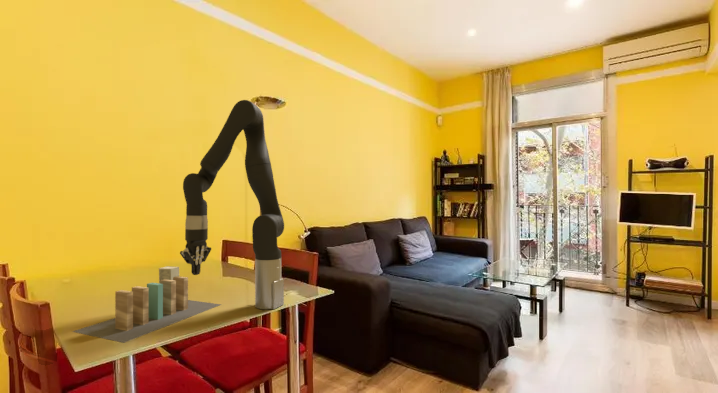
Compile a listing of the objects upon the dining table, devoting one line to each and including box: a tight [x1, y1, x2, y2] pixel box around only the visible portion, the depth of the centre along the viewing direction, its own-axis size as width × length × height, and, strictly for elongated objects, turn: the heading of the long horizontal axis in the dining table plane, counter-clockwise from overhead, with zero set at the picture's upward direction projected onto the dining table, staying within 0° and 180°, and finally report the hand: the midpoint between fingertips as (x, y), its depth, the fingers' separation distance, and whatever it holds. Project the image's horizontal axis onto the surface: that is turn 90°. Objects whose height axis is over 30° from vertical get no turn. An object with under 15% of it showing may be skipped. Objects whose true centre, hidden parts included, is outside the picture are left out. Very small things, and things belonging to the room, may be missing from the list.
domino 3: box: [146, 282, 163, 320], centre depth 113 cm, size 2×5×11 cm, turn 69°
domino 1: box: [114, 289, 133, 331], centre depth 104 cm, size 2×5×11 cm, turn 69°
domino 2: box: [131, 285, 149, 325], centre depth 109 cm, size 2×5×11 cm, turn 69°
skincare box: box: [158, 265, 180, 283], centre depth 137 cm, size 6×4×12 cm
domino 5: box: [173, 275, 189, 310], centre depth 123 cm, size 2×5×11 cm, turn 69°
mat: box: [71, 299, 222, 344], centre depth 114 cm, size 22×36×1 cm, turn 159°
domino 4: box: [160, 279, 176, 315], centre depth 118 cm, size 2×5×11 cm, turn 69°
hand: (196, 274), depth 129 cm, fingers closed
